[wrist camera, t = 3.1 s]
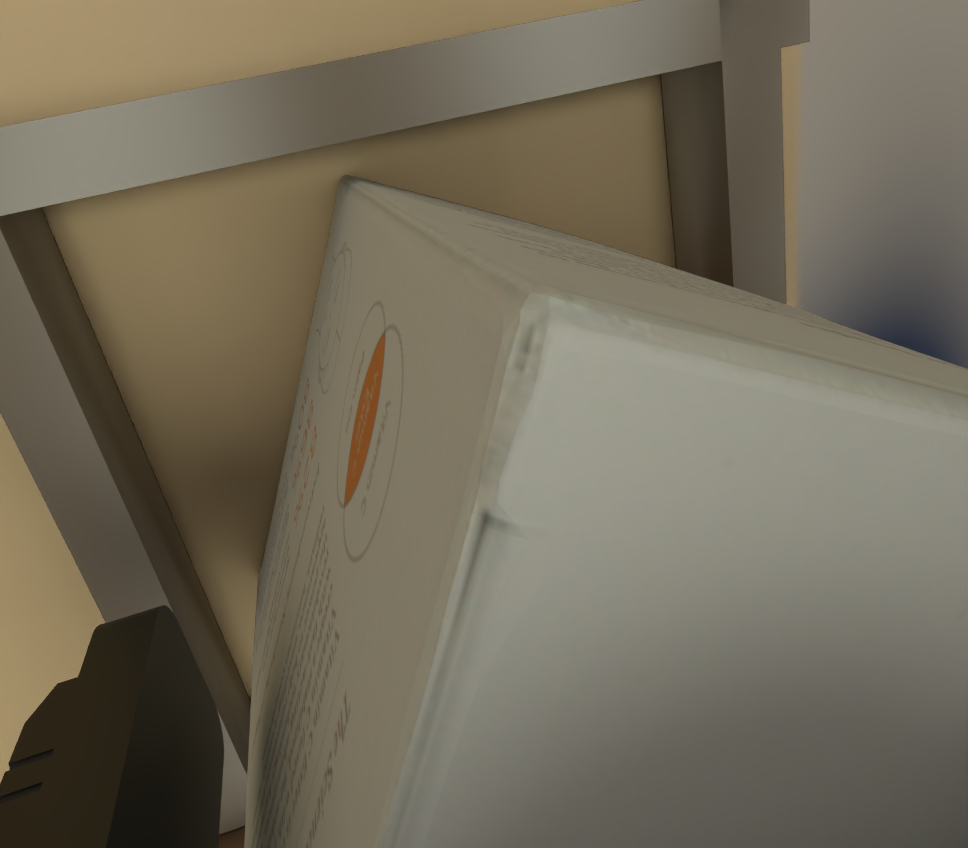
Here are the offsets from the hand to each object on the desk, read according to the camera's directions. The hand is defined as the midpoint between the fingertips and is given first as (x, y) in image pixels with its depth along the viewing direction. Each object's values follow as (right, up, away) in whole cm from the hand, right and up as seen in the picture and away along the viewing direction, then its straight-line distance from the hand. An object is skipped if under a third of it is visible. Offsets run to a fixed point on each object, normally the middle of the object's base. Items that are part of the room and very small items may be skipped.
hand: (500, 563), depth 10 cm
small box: (-1, +2, +5) cm, 5 cm away
